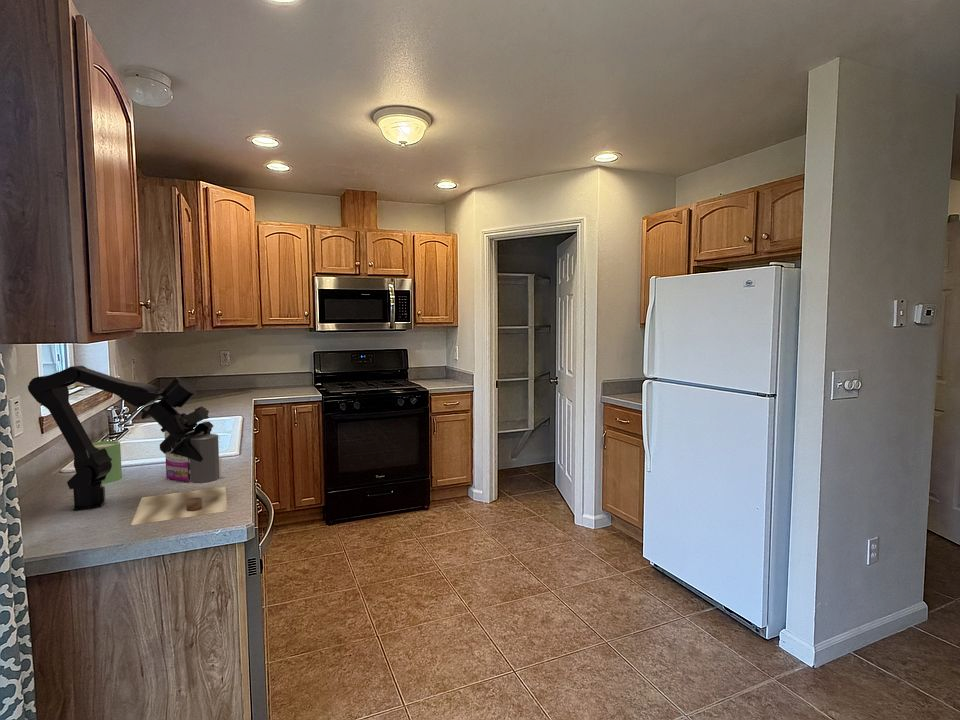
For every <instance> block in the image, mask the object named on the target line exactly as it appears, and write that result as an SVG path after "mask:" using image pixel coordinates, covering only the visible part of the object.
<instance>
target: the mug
mask: <svg viewBox="0 0 960 720" xmlns="http://www.w3.org/2000/svg"><path fill="white" fill-rule="evenodd" d="M92 444H93V446H94V447H96V448H97V449H99V450H101V449H103V448H105V449H106V450H107V453H108V456H109V457H110V458H111V459H112V461H111V463H112V467H111V470H110V472H109V473H108V474H107V476H106V479H105V480H102V485H104V484H109V483H113V482H117V481H119V480H121V479H122V478H123V472H122V471H123V470H122V451H121V449H122V447H121V442H120V441H118V440H105V441H104V440H103V441H95V442H92ZM103 483H104V484H103Z"/></svg>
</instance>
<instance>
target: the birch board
mask: <svg viewBox="0 0 960 720" xmlns="http://www.w3.org/2000/svg"><path fill="white" fill-rule="evenodd" d="M226 491H227V490H226V486H220V487H212V488H205V489H204V488H203V489H196V490H190V491H182V492H175V493H165V494H159V495H152V496H149V495H148V496H144V497H141V499H140V501H139V504H138V506H137V509H136V511H135V512H134V513H135V514H134V516H133V519H132V521H131V523H130V526H136V525H142V524H143V525H144V524H149V523H156V522H163V521H169V520H177V519H183V518H188V517H189V518H190V517H197V516H204V515H205V516H206V515H210V514H211V515H212V514H217V513H223V512H228V503H227V501H228V500H227V492H226ZM191 498H202V509H200V510H197V511H187V509H186V500H188V499H191Z"/></svg>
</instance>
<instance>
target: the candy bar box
mask: <svg viewBox="0 0 960 720" xmlns="http://www.w3.org/2000/svg"><path fill="white" fill-rule="evenodd" d="M168 436H169V433H168V432H167V431H166V432H164V440H165V439H166V438H167V437H168ZM171 449H172V447H171ZM172 450H173V449H172ZM164 455H165V475H166V478H165V479H166V480H168V479H169V481H175V480H176V482H182V481H183V482H184V483H189V482H190V458H187V457H183V456H180V455H176V454H171V453H170V452H169V453H166V454H164ZM190 483H191V482H190Z"/></svg>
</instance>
